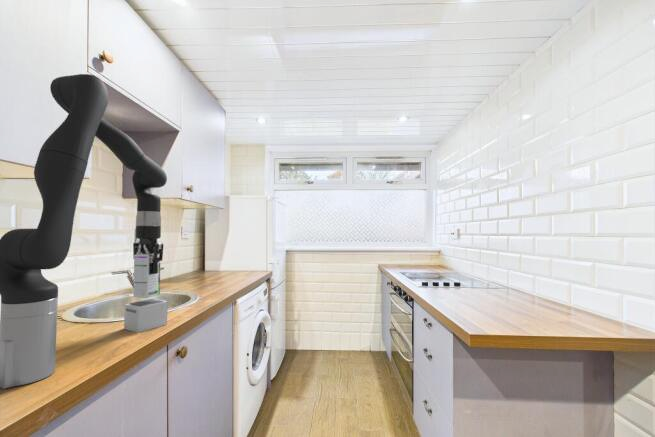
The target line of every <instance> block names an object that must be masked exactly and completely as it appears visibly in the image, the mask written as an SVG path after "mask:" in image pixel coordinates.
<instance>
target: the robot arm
mask: <svg viewBox="0 0 655 437" xmlns="http://www.w3.org/2000/svg"><path fill="white" fill-rule="evenodd" d="M49 89H50V94H51V96H52V98H53V99H54V101H55V103H56V104H57V105H58V106H59V107H60V108H61V109H63V110H64V111H65V112H66V113H67V116H66V118H65V119H64V120H63V122H62V123H60V125H59V126H58V127H56V129H55V130H54V131H53V132H52V133H51V134H50V135H49V136H48V137H47V139H45V141H44V142H43V144H42V146H41V147H40V150H39V153H38V155H37V158H36V163H35V164H34V169H33V176H34V181H35V184H36V186H37V189H38V191H39V194H40V196H41V199H42V200H41V201H42V212H41V216H40V219H39V222H38V226H37V228H16V229H12V230H9V231H7V232H6V233H4V234H3V235H2V236H1V238H0V388H1V389H3V390H4V389H7V388H11V387H17V386H24V385H27V384H31V383H32V384H33V383H35V382H37V381H41V380H43V379H45V378H47V377H50V376H52V374H54V373H55V371H56V360H57V359H56V358H57V357H56V353H57V350H56V349H57V330H58V302H59V301H58V299H59V287H58V285H57V284H56V283H54V282H52V281H50V280H48V279H47V278H45V277H44V275H43V274H42V270H53V269H55V268H58V267H59V266H60V265H62V264H63V263H64V261H65V260H66V258H67V257H68V254H69V253H70V252H69V251H70V247H71V244H72V243H71V241H72V236H73V227H74V221H75V214H76V209H77V204H78V199H79V195H80V191H81V188H82V184H83V181H84V178H85V176H86V171H87V167H88V163H89V158H90V154H91V151H92V147H93V144H94V141H95V137H96V138H97V139H98V140H99V141H100V142H101V143H103V145H105V146H106V147H107V148H108V149H109V150H110V151H111V153H113V155H114V156H115V157H116V158H117V159H118V161H120V163H122V164H123V166H124V167H125V168H127V169H129V170H130V171H134V172H133V173H132V179H131V180H132V185H133V188H134V192H135V196H136V199H137V200H136V201H137V202H136V203H137V204H136V208H137V209H136V215H135V216H136V217H135V235H134V236H135V239H138V240H139V241H138V242H133V245H132V246H133V249H132V250H133V251H132V252H133V255H132V256H133V257H132V258H133V259H134V255H137V254H147V255H148V256H149V257H150V274H157V268H158V262H159V261H160V262H162V261H163V257H164V243H163V242H161V243H160V242H159V243H158V240H159V239H161V235H162V234H161V232H162V229H161V228H162V214H161V210H162V208H161V204H162V203H161V201H162V200H161V197H160V196H159V195H156V194H154V193H153V194H152V191H151V189H155V188H156V189H157V188H162V187H164V186H166V184H167V181H168V176H167V174H166V172H165V170H164V169H163V168H162V167H161V166H160V165H159V164H157V162H155V161H154V160H153V159H151V158H150V157H149V156H147V155H146V154H145V153H144V152H143V150H142V149H141V148H140V146H139V145H138V143H136V141H135V140H134V139H133V138H132V137H130V136H129V135H128V134H127V133H125V132H123V131H122V130H120V129H119V128H117V127H116V126H114V125H113V124H111V123H110V122H108V121H107V120H106V119H105V118H103V117H104V114H105V112H106V110H107V107H108V103H109V92H108V89H107V86H106V84H105V83H104V81H103V80H102V79H101V78H99V76H96V75H92V74H88V73H87V74H86V73H83V74H82V73H79V74H73V75H65V76H64V75H62V76H58V77H56V78H54V79H53V80H52V81H51V83H50V88H49ZM158 255H159V257H158Z"/></svg>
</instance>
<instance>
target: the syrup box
mask: <svg viewBox="0 0 655 437" xmlns="http://www.w3.org/2000/svg"><path fill="white" fill-rule="evenodd" d="M158 257H159V255H158ZM159 295H161V261H159V262H158V268H157V274H150V257H149V256H148V255H147V254H137V255H134V258H133V297H134V298H138V299H139V298H141V299H149V298H151V297H154V296H155V297H156V296H159Z"/></svg>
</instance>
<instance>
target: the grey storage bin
mask: <svg viewBox="0 0 655 437" xmlns="http://www.w3.org/2000/svg"><path fill="white" fill-rule="evenodd" d="M123 315H124V317H123V318H124V319H123V321H124V322H123V329H124V330H128V331H130V332H134V333H137V334H139V333H142V332H146V331H149V330H152V329H155V328H160V327H162V326H166V325H168V300H163V299H162V300H161V299H158V298H157V299H156V298H150V299H149V298H148V299H144V300H139V301H134V302H130V303H126V304H124V314H123Z"/></svg>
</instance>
